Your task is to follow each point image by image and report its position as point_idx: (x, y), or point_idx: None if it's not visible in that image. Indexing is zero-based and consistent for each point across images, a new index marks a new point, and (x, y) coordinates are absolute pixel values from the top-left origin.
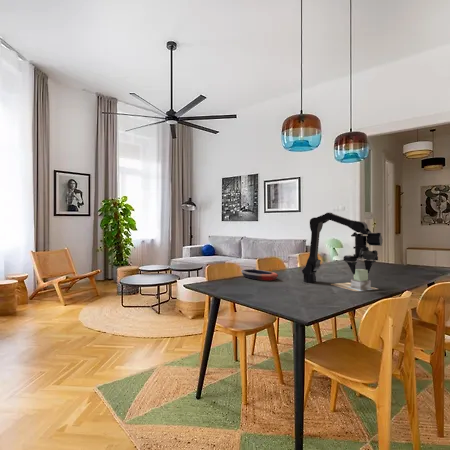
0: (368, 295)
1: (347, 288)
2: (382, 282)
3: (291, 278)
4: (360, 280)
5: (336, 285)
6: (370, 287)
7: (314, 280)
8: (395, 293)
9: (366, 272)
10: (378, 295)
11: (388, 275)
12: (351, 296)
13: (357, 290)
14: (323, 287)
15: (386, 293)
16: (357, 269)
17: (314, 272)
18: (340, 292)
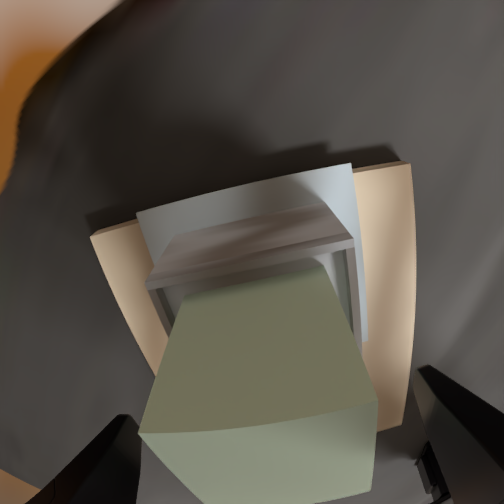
0: (323, 37)
1: (398, 292)
2: (29, 423)
3: (423, 498)
4: (326, 276)
5: (395, 393)
6: (174, 240)
7: (436, 459)
8: (20, 113)
9: (182, 392)
10: (215, 22)
11: (11, 472)
12: (482, 59)
13: (365, 189)
14: (465, 375)
15: (84, 108)
16: (319, 487)
17: (442, 499)
18: (486, 215)
